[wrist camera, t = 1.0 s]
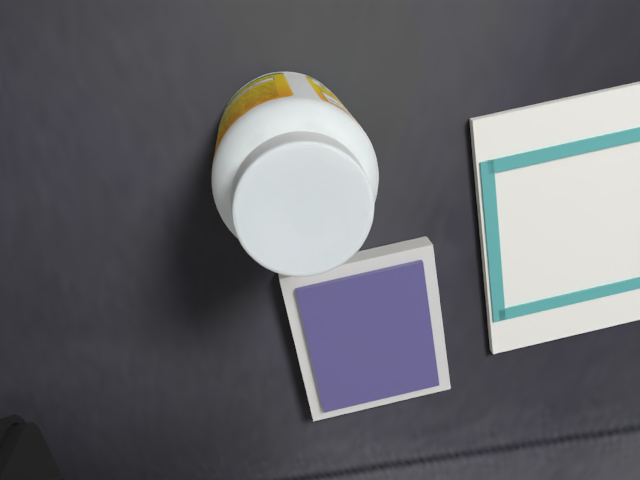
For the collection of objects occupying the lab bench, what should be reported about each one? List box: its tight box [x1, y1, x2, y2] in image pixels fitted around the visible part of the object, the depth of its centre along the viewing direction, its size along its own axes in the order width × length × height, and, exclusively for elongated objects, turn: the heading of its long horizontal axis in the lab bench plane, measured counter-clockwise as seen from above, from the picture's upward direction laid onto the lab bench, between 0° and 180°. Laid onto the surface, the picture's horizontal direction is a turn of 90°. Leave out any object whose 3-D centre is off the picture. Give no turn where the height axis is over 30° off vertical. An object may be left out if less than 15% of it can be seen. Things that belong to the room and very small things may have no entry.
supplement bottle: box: [212, 72, 379, 277], centre depth 21 cm, size 5×5×10 cm
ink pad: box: [278, 236, 451, 421], centre depth 29 cm, size 8×7×1 cm
